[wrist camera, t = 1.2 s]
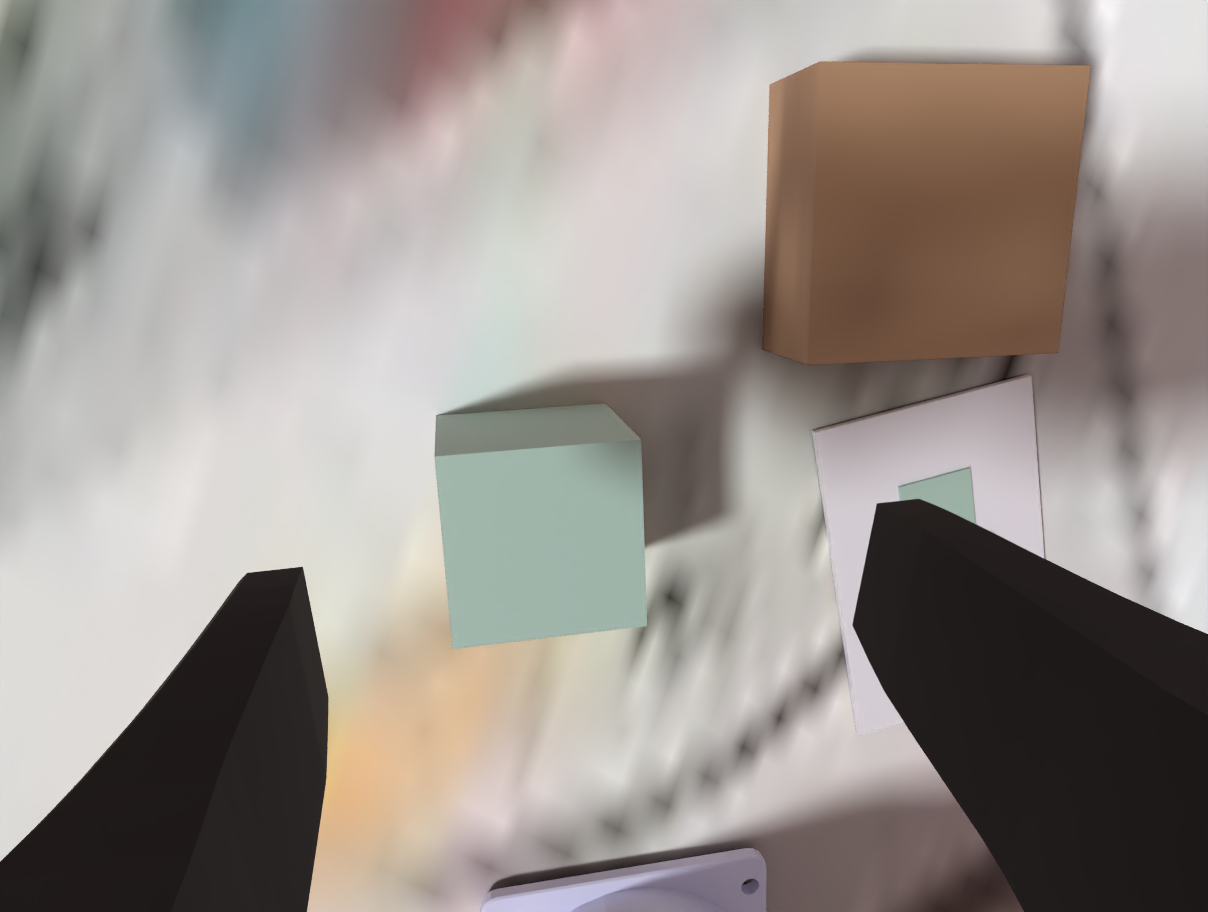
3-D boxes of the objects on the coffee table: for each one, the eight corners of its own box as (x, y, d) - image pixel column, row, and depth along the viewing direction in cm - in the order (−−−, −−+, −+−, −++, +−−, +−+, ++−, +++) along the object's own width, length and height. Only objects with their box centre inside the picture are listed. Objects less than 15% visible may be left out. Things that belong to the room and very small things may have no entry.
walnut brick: (978, 338, 22) (1057, 352, 19) (758, 347, 21) (807, 364, 18) (1001, 89, 21) (1090, 65, 18) (764, 87, 20) (819, 61, 17)
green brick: (611, 557, 22) (646, 625, 18) (450, 574, 21) (452, 648, 17) (604, 402, 21) (641, 439, 17) (436, 414, 20) (434, 456, 16)
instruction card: (1048, 673, 25) (1054, 678, 25) (856, 732, 24) (861, 738, 24) (1026, 374, 22) (1034, 376, 22) (811, 430, 22) (816, 433, 21)
